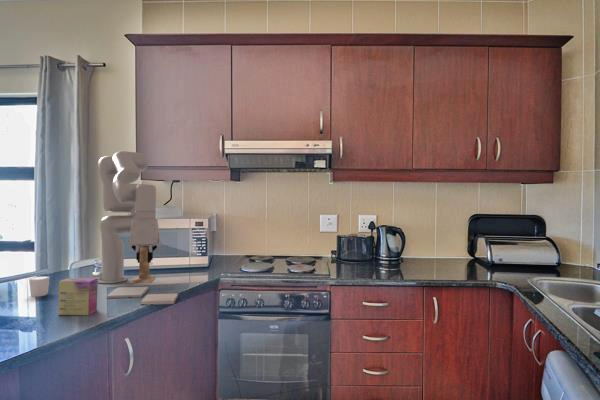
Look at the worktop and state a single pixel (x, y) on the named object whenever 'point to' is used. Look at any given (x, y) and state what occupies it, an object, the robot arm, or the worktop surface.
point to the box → (77, 296)
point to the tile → (159, 299)
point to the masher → (144, 267)
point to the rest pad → (127, 292)
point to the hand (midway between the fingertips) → (144, 261)
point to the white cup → (39, 286)
